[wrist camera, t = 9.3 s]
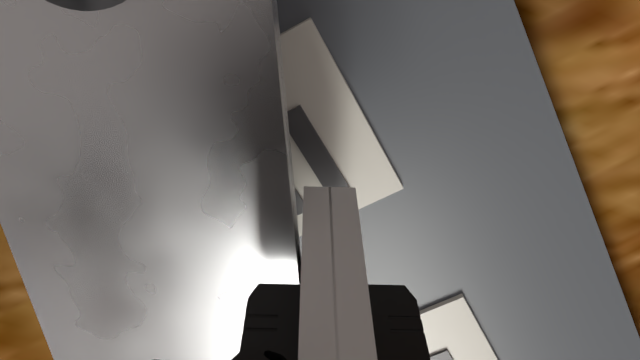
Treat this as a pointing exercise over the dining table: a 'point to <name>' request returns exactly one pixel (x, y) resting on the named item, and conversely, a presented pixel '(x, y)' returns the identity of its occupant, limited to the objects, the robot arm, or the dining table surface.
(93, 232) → the light grey rectangular slab
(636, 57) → the dining table surface
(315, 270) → the robot arm
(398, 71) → the label board
